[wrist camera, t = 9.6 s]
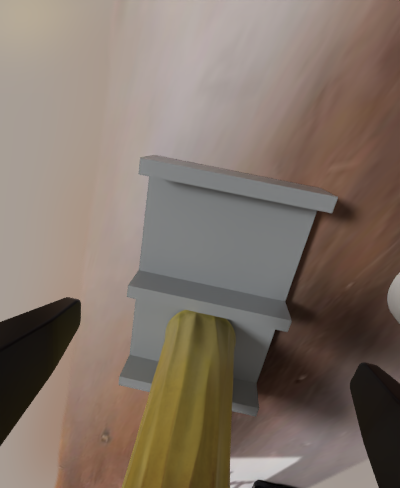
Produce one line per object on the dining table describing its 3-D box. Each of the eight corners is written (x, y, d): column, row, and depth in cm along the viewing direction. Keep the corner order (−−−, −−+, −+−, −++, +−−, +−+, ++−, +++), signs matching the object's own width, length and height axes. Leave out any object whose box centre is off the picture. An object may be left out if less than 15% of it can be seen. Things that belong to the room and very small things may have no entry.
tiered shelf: (252, 383, 26) (255, 416, 23) (131, 356, 26) (118, 384, 23) (320, 188, 19) (337, 197, 16) (154, 155, 19) (140, 157, 16)
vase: (152, 325, 24) (53, 561, 10) (209, 294, 22) (178, 528, 9) (192, 372, 25) (150, 630, 12) (249, 345, 23) (274, 614, 10)
